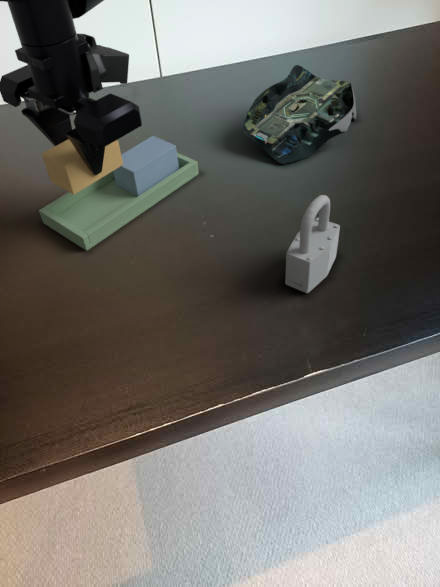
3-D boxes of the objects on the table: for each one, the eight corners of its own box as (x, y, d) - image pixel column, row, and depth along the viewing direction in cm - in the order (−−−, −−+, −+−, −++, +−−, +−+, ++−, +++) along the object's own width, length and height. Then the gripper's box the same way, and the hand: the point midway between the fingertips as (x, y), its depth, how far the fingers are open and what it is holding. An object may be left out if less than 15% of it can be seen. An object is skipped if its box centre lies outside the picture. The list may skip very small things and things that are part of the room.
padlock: (310, 247, 64) (315, 177, 57) (340, 259, 62) (350, 188, 55) (280, 283, 60) (282, 213, 53) (312, 297, 58) (318, 226, 51)
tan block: (73, 195, 63) (64, 166, 60) (50, 182, 66) (40, 153, 63) (123, 164, 67) (117, 136, 64) (100, 153, 69) (93, 125, 67)
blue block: (138, 197, 72) (133, 172, 69) (116, 185, 74) (110, 160, 71) (179, 170, 76) (176, 145, 73) (157, 159, 78) (152, 135, 75)
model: (238, 164, 81) (321, 180, 74) (227, 110, 75) (317, 122, 68) (300, 102, 91) (378, 111, 84) (295, 50, 85) (379, 55, 78)
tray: (86, 251, 66) (82, 238, 64) (43, 222, 70) (38, 210, 69) (198, 174, 76) (197, 161, 74) (154, 153, 80) (152, 141, 79)
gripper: (167, 28, 54) (184, 161, 65) (56, -4, 63) (88, 118, 74) (81, 68, 48) (116, 206, 60) (-27, 27, 57) (21, 154, 69)
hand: (85, 166), depth 66 cm, fingers closed on tan block, 4 cm apart
